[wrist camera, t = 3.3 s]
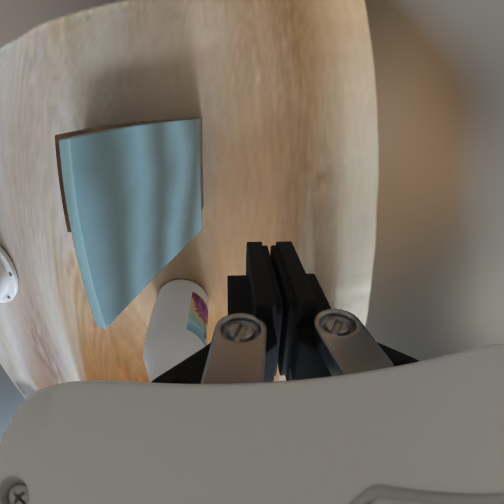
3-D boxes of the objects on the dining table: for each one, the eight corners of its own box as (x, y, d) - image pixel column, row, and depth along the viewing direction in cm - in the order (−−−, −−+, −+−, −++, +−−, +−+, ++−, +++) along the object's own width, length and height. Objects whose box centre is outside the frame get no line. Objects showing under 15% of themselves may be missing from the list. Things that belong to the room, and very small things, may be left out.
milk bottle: (156, 315, 45) (130, 422, 28) (159, 273, 42) (126, 381, 24) (204, 323, 47) (199, 433, 29) (212, 282, 44) (209, 395, 26)
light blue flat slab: (96, 326, 17) (106, 329, 17) (58, 139, 12) (69, 137, 12) (194, 229, 31) (202, 229, 31) (191, 119, 26) (199, 118, 26)
